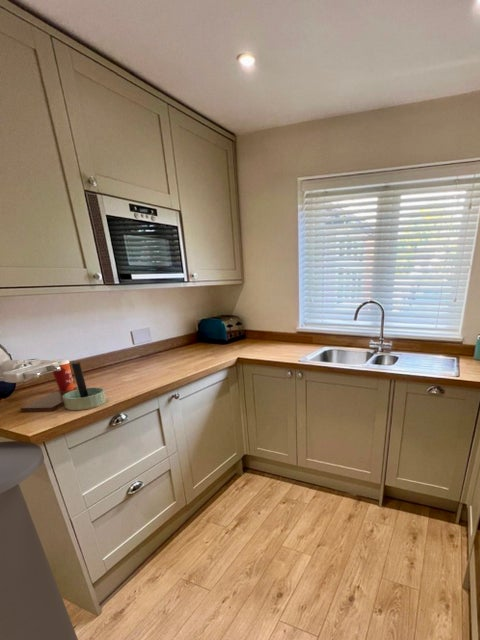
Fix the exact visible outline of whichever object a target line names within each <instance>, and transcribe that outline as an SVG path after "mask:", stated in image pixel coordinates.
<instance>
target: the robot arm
mask: <svg viewBox="0 0 480 640" xmlns="http://www.w3.org/2000/svg"><path fill="white" fill-rule="evenodd" d="M60 370H61V368H60V366H59V364H58V362H57V361H53V360H48V359H40V358H31V359H12V358H11V356H10V354H9V352H8V350H7V349H6V348H5V347H4V346H3V345H2V344H1V343H0V382H5V383H12V384H15V383H21V382H22V383H24V382H28V381H30V380H31V379H38V378H41V377H42V376H44V375H46V374H50V373H53V371H60Z"/></svg>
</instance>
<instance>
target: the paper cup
mask: <svg viewBox="0 0 480 640" xmlns="http://www.w3.org/2000/svg"><path fill="white" fill-rule="evenodd" d="M52 361H57V362H58V364H59V366H60V368H61V370H60V371H53V372H52V374H53V377H54V379H55V382H56V384H57V388H58V390H59V392H63V391H73V390H75V385H74V384H75V383H74V379H73V375H72V371H71V365H70V361H69V359H68V358H57V359H53V360H52Z"/></svg>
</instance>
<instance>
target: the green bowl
mask: <svg viewBox="0 0 480 640" xmlns="http://www.w3.org/2000/svg"><path fill="white" fill-rule="evenodd" d="M86 388H87V392H88V395H89V396H88V397H83V398H81V397H80V393H79V390H78V388H77V389H73V390H71V391H70V392H67V393H65V394H64V395H63V396H62V397H63V400H64V404H65V405H64V407H65V409H67V410H69V411H85V410H90V409H94V408H97V407H100V406H102V405H103V404H105V403H106V401H107V397H106V393H105V389H104V388H102V387H97V386H96V387H94V386H93V387H86Z"/></svg>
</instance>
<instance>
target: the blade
mask: <svg viewBox="0 0 480 640" xmlns="http://www.w3.org/2000/svg"><path fill="white" fill-rule="evenodd" d="M71 367H72V371H73V375H74V379H75V382H76V386H77V389H78V390H79V393H80V397H81V398H83V397H88V396H89V395H88V392H87V388H88V387H87V384H86V380H85V377H84V372H83V369H82V365H81V362H80V361H76V362H72V363H71Z"/></svg>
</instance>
